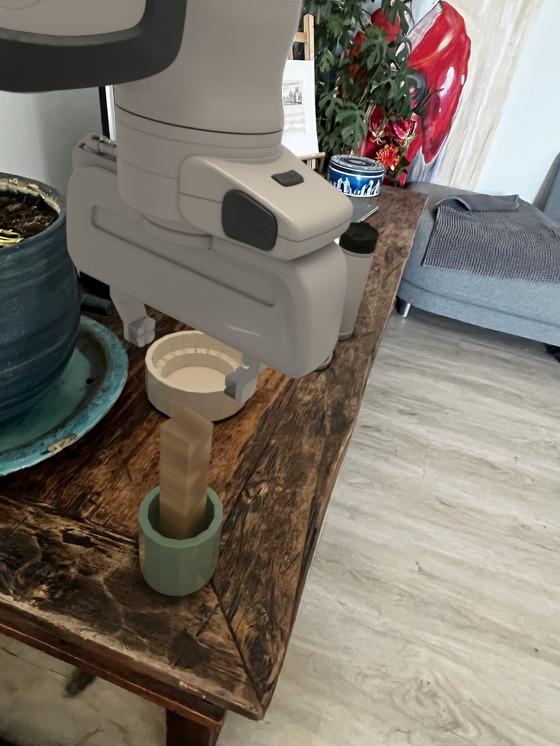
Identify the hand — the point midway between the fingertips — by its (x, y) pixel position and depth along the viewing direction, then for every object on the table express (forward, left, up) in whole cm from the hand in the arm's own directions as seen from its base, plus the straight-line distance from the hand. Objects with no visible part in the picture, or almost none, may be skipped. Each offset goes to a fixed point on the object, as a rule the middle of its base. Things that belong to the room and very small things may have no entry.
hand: (187, 366), depth 36 cm
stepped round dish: (+22, +16, -25) cm, 37 cm away
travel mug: (+53, +9, -25) cm, 59 cm away
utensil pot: (0, 0, -25) cm, 25 cm away
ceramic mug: (+43, +9, -25) cm, 50 cm away
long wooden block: (0, 0, -24) cm, 24 cm away
